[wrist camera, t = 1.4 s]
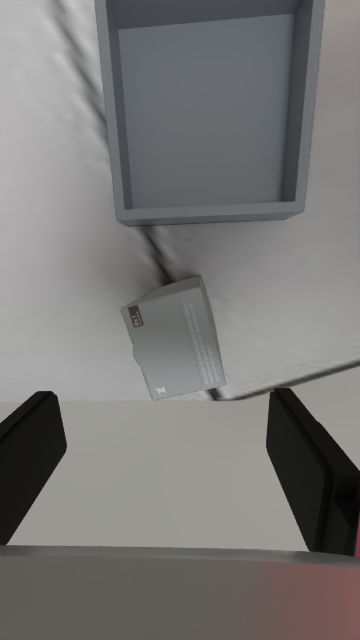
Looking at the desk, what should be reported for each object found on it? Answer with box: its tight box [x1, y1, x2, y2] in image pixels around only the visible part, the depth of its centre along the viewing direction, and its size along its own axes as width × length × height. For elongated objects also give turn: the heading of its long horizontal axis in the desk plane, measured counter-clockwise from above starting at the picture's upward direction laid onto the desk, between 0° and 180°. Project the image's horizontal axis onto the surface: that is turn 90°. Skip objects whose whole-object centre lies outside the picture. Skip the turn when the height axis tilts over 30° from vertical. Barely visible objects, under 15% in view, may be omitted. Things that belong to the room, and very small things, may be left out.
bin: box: [94, 0, 325, 227], centre depth 24 cm, size 20×20×5 cm
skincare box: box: [121, 276, 226, 401], centre depth 24 cm, size 8×7×16 cm
